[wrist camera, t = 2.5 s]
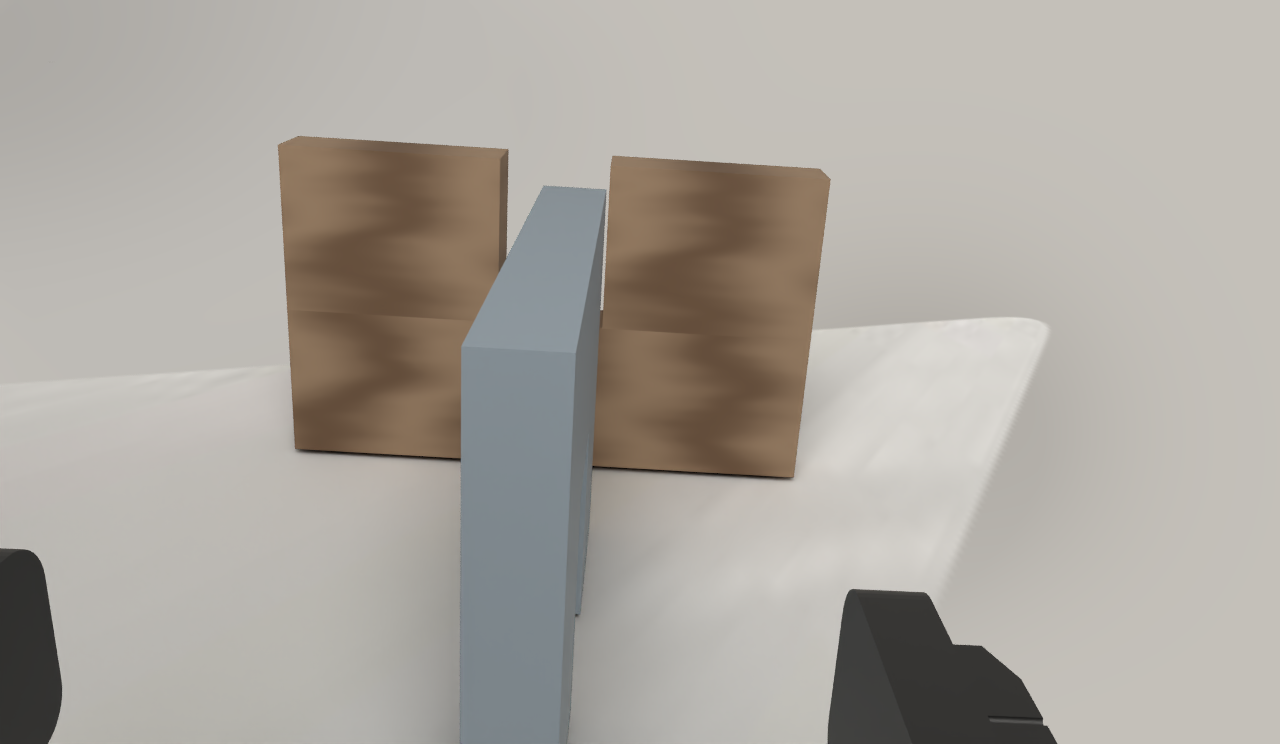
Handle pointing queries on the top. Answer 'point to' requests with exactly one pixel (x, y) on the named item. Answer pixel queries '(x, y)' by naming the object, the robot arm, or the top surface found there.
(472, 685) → the slate plate
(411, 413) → the walnut board
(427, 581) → the top surface
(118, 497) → the top surface
